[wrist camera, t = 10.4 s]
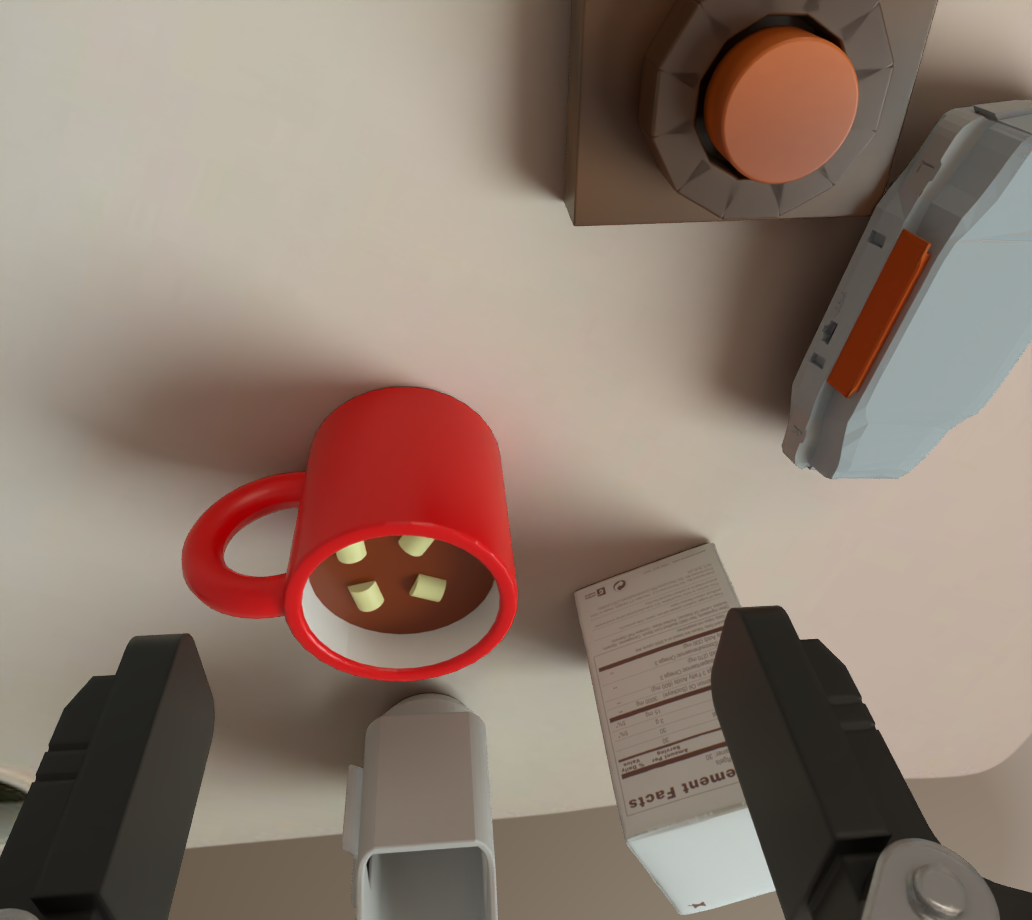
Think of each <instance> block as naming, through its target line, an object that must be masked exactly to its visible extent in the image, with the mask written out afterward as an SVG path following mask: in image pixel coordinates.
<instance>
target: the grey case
mask: <svg viewBox="0 0 1032 920" xmlns="http://www.w3.org/2000/svg"><path fill="white" fill-rule="evenodd" d="M1031 340H1032V100H1011V101H1003V102H995V103H987V104H979V105H973V106H970V107H962V108H954V109H951V110H950V111H948V112H946V113H944V114H943V116H942V117H941V118H940V120H939V121H938V122H937V124H936V125H935V126H934V128H933V129H932V130H931V132H930V134H929V135H928V137H927V138H926V140H925V141H924V143H923V144H922V146H921V147H920V149H919V150H918V152H917V153H916V154H915V156H914V157H913V159H912V160H911V161H910V163H909V164H908V166H907V167H906V169H905V170H904V171H903V172H902V173H901V175H900V176H899V177H898V178H897V179H896V181H895V182H894V183H893V184H892V186H891V187H890V188H889V189H888V191H887V192H886V193H885V195H884V196H883V198H882V199H881V200H880V202H879V203H878V204H877V206H876V208H875V210H874V212H873V214H872V216H871V218H870V220H869V222H868V225H867V227H866V229H865V231H864V233H863V235H862V237H861V239H860V241H859V244H858V246H857V248H856V250H855V252H854V254H853V256H852V258H851V260H850V262H849V265H848V267H847V269H846V271H845V273H844V275H843V277H842V279H841V281H840V284H839V286H838V288H837V290H836V292H835V294H834V296H833V298H832V300H831V303H830V305H829V307H828V309H827V311H826V313H825V315H824V317H823V319H822V322H821V324H820V326H819V328H818V330H817V332H816V334H815V336H814V338H813V341H812V343H811V345H810V347H809V349H808V351H807V353H806V355H805V357H804V359H803V362H802V364H801V366H800V368H799V370H798V372H797V375H796V377H795V379H794V382H793V384H792V394H791V411H790V416H789V421H788V426H787V430H786V434H785V437H784V440H783V443H782V449H783V453H784V454H785V455H786V456H787V457H788V458H789V459H790V460H791V461H792V462H793V463H794V464H795V465H796V466H797V467H798V468H800V469H803V468H805V467H808V468H809V469H810V470H817V471H818V472H820V473H821V474H822V475H823V476H824V477H826V478H830V479H838V478H876V479H898V478H899V477H901V476H903V475H905V474H907V473H908V472H910V471H911V470H912V469H913V468H914V467H915V466H916V465H918V464H919V463H920V462H921V461H922V460H923V459H924V458H925V457H926V456H927V455H928V453H929V452H930V451H931V450H932V449H933V448H934V447H935V446H936V445H937V444H938V443H939V442H940V440H941V439H942V438H943V437H944V435H945V434H946V433H947V432H948V431H949V430H950V429H952V428H953V427H955V426H956V425H957V424H959V423H960V422H962V421H963V420H965V419H967V418H969V417H971V416H973V415H975V414H977V413H978V412H979V411H980V410H981V409H982V408H983V407H984V406H985V405H986V404H987V402H988V401H989V400H990V398H991V397H992V396H993V394H994V393H995V392H996V390H997V389H998V388H999V386H1000V385H1001V384H1002V382H1003V381H1004V379H1005V378H1006V377H1007V375H1008V374H1009V372H1010V371H1011V370H1012V368H1013V367H1014V365H1015V364H1016V362H1017V361H1018V359H1019V358H1020V357H1021V355H1022V354H1023V352H1024V351H1025V349H1026V348H1027V346H1028V345H1029V343H1030V342H1031Z"/></svg>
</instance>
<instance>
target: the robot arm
mask: <svg viewBox="0 0 1032 920" xmlns="http://www.w3.org/2000/svg"><path fill="white" fill-rule="evenodd" d="M711 693H712V700H713V704H714V708H715V712H716V715H717V718H718V721H719V724H720V727H721V729H722V732H723V735H724V738H725V741H726V744H727V747H728V750H729V753H730V756H731V759H732V762H733V765H734V768H735V771H736V774H737V777H738V780H739V783H740V786H741V789H742V792H743V795H744V798H745V801H746V804H747V807H748V809H749V812H750V815H751V818H752V821H753V824H754V827H755V830H756V833H757V836H758V839H759V842H760V845H761V848H762V851H763V854H764V857H765V860H766V863H767V866H768V869H769V872H770V875H771V878H772V881H773V884H774V886H775V889H776V892H777V895H778V898H779V901H780V904H781V907H782V910H783V913H784V916H785V919H786V920H1032V893H1030V892H1026V891H1023V890H1018V889H1015V888H1011V887H1007V886H1004V885H1000V884H997V883H994V882H992V881H990V880H987V879H985V878H983V877H982V876H981V875H980V874H979V873H978V872H977V871H976V869H975V868H974V867H973V866H972V865H970V864H969V863H968V862H967V861H966V860H965V859H964V858H962V857H961V856H960V855H958V854H957V853H955V852H954V851H952V850H950V849H948V848H947V847H945V846H942V845H941V844H940V842H939V841H938V840H937V838H936V837H935V836H934V834H933V833H932V831H931V829H930V828H929V826H928V824H927V822H926V820H925V818H924V817H923V815H922V813H921V811H920V809H919V807H918V805H917V803H916V801H915V799H914V797H913V795H912V793H911V792H910V789H909V788H908V786H907V784H906V782H905V780H904V778H903V776H902V774H901V772H900V770H899V768H898V766H897V764H896V762H895V761H894V759H893V757H892V755H891V753H890V751H889V749H888V747H887V745H886V743H885V741H884V739H883V737H882V735H881V734H880V732H879V730H876V728H875V722H874V720H873V718H872V716H871V714H870V712H869V710H868V708H867V707H866V705H865V704H863V703H862V700H861V698H862V697H861V695H860V693H859V691H858V689H857V687H856V685H855V683H854V681H853V680H852V678H851V676H850V674H849V672H848V670H847V668H846V666H845V665H844V664H843V663H842V662H841V661H840V660H839V659H838V658H837V657H836V656H835V655H834V654H833V653H832V652H831V651H830V650H829V649H828V648H827V647H826V646H825V645H824V644H823V643H822V642H821V641H820V640H819V639H807V640H800V639H799V637H798V635H797V633H796V631H795V629H794V627H793V625H792V623H791V620H790V618H789V616H788V614H787V613H786V611H785V610H784V609H783V608H782V607H780V606H758V607H738V608H731V609H729V611H728V612H727V615H726V618H725V622H724V626H723V629H722V633H721V637H720V640H719V644H718V648H717V651H716V655H715V659H714V662H713V666H712V670H711ZM213 731H214V701H213V696H212V693H211V690H210V687H209V684H208V681H207V678H206V675H205V672H204V669H203V666H202V663H201V660H200V657H199V654H198V651H197V648H196V645H195V642H194V640H193V638H192V636H191V635H190V634H188V633H187V634H167V635H147V636H135V637H133V638H132V639H131V640H130V641H129V643H128V645H127V647H126V649H125V652H124V654H123V657H122V659H121V662H120V665H119V667H118V670H117V672H116V675H110V676H93V677H92V678H91V679H90V680H89V681H88V683H87V684H86V685H85V686H84V687H83V688H82V689H81V690H80V691H79V693H78V694H77V695H76V696H75V697H74V698H73V699H72V700H71V702H70V703H69V704H68V705H67V706H66V707H65V708H64V710H63V712H62V715H61V717H60V719H59V722H58V724H57V726H56V729H55V731H54V733H53V736H52V738H51V740H50V743H49V750H48V752H45V754H44V756H43V759H42V761H41V763H40V766H39V768H38V770H37V773H36V781H35V782H32V784H31V787H30V789H29V791H28V794H27V796H26V798H25V801H24V803H23V805H22V808H21V810H20V812H19V815H18V817H17V819H16V822H15V824H14V826H13V828H12V831H11V833H10V835H9V838H8V840H7V842H6V845H5V847H4V849H3V852H2V854H1V856H0V920H168V916H169V912H170V908H171V903H172V899H173V895H174V891H175V887H176V883H177V879H178V875H179V871H180V867H181V863H182V859H183V855H184V851H185V847H186V843H187V839H188V835H189V831H190V827H191V823H192V818H193V814H194V810H195V806H196V802H197V798H198V794H199V790H200V786H201V782H202V778H203V774H204V770H205V766H206V762H207V758H208V754H209V750H210V746H211V742H212V737H213Z"/></svg>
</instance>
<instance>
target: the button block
mask: <svg viewBox="0 0 1032 920" xmlns="http://www.w3.org/2000/svg"><path fill="white" fill-rule="evenodd" d="M937 3H938V0H571V26H570V53H569V80H568V107H567V134H566V161H565V188H564V203H565V205H566V208H567V210H568V213H569V215H570V218H571V220H572V223H573V225H574V226H598V225H627V224H655V223H683V222H712V221H740V220H769V219H797V218H826V217H854V216H872V214H873V212H874V210H875V208H876V206H877V204H878V203H879V202H880V200H881V199H882V197H883V193H884V190H885V186H886V183H887V179H888V176H889V172H890V169H891V165H892V161H893V158H894V154H895V151H896V147H897V144H898V140H899V137H900V133H901V130H902V126H903V123H904V119H905V116H906V112H907V108H908V105H909V101H910V98H911V94H912V91H913V87H914V84H915V80H916V77H917V73H918V70H919V66H920V63H921V59H922V55H923V52H924V48H925V45H926V41H927V38H928V34H929V31H930V27H931V24H932V20H933V17H934V13H935V10H936V6H937ZM780 25H784V26H793V27H797V28H800V29H803V30H805V31H808V32H810V33H812V34H814V35H816V36H819V37H821V38H823V39H825V40H827V41H830V42H831V43H833V44H835V45H836V46H838V47H839V48H840V49H841V50H842V51H843V52H844V53H845V54H846V55H847V57H848V58H849V59H850V61H851V63H852V65H853V67H854V69H855V72H856V75H857V80H858V89H859V99H858V107H857V113H856V116H855V119H854V123H853V125H852V127H851V130H850V132H849V134H848V135H847V137H846V139H845V141H844V142H843V144H842V145H841V147H840V148H839V149H838V151H837V152H836V153H835V154H834V155H833V156H832V157H831V158H830V159H829V160H828V161H827V162H826V163H825V164H824V165H822V166H821V167H820V168H819V169H817V170H816V171H814V172H812V173H811V174H809V175H807V176H805V177H803V178H801V179H798V180H795V181H792V182H787V183H782V184H765V183H760V182H757V181H754V180H751V179H749V178H747V177H745V176H744V175H743V174H741V173H740V172H739V171H738V170H737V169H736V168H735V167H734V166H733V165H732V164H731V163H730V162H729V161H728V160H727V159H726V158H725V157H724V156H723V155H722V154H721V153H720V152H719V151H718V150H717V149H716V148H715V147H714V145H713V144H712V142H711V140H710V138H709V136H708V134H707V131H706V127H705V122H704V99H705V94H706V90H707V87H708V84H709V81H710V79H711V76H712V74H713V72H714V71H715V69H716V67H717V65H718V64H719V62H720V61H721V60H722V58H723V57H724V56H725V55H726V53H727V52H728V51H729V50H730V49H731V48H732V47H733V46H734V45H736V44H737V43H738V42H739V41H740V40H742V39H743V38H745V37H746V36H748V35H750V34H752V33H754V32H756V31H758V30H761V29H763V28H767V27H772V26H780Z"/></svg>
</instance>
